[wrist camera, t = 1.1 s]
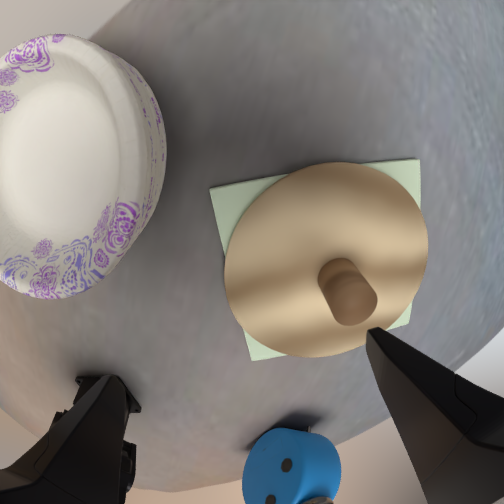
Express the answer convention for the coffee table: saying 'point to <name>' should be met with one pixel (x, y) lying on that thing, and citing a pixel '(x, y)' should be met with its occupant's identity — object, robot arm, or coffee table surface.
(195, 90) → the coffee table surface
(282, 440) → the alarm clock
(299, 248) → the lid
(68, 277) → the white and purple bowl
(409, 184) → the mat
